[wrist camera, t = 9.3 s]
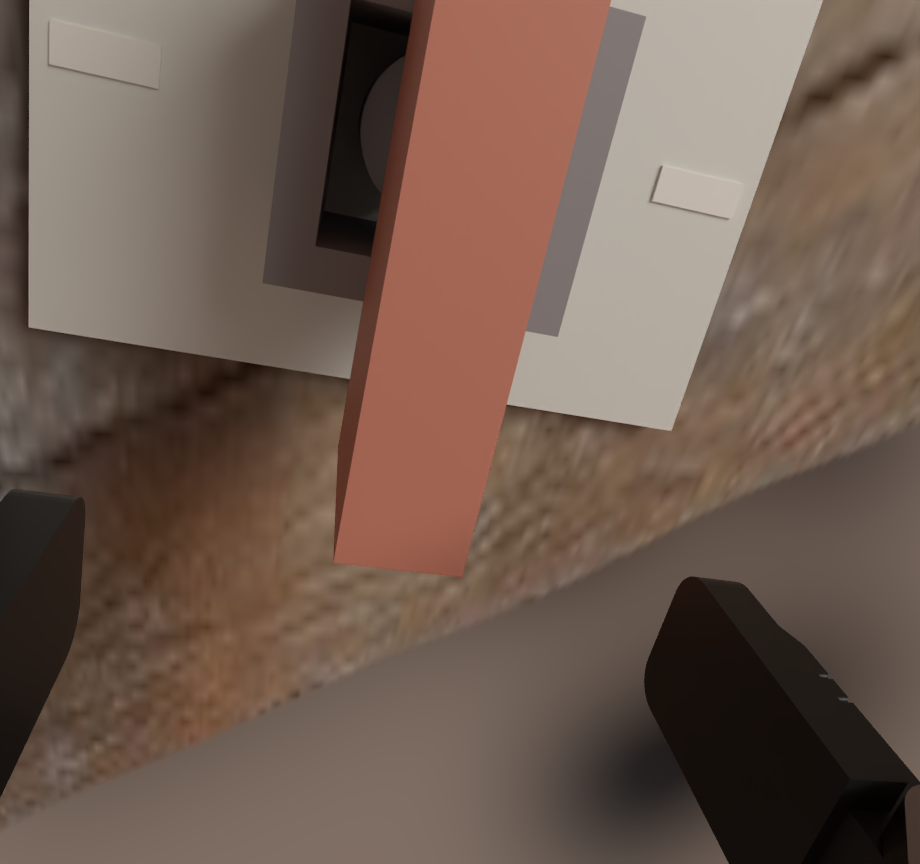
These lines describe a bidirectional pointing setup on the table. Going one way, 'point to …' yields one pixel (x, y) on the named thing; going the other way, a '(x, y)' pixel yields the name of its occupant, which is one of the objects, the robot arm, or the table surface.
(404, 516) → the red bar with frame
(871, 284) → the table surface
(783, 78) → the lock board
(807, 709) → the robot arm
